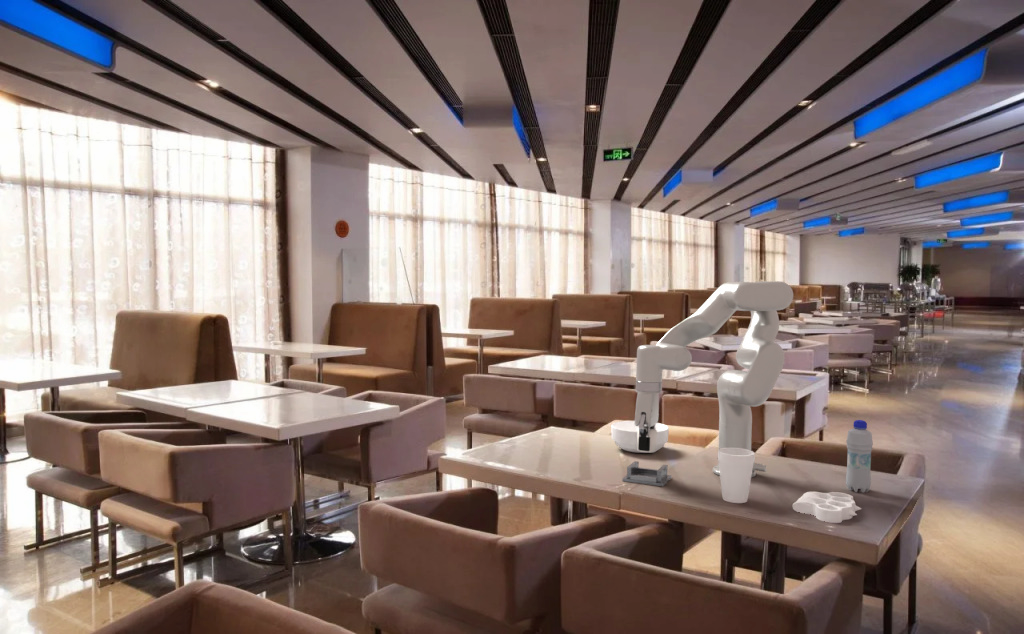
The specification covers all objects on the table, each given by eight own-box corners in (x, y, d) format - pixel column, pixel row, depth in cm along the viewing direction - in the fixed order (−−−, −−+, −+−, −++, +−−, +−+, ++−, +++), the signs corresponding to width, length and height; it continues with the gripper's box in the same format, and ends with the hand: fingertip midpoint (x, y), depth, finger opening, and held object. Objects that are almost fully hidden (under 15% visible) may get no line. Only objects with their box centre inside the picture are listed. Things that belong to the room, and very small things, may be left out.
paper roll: (658, 449, 208) (659, 429, 207) (653, 453, 203) (654, 432, 202) (639, 447, 210) (640, 427, 210) (634, 450, 205) (635, 430, 205)
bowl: (638, 441, 257) (638, 418, 257) (680, 452, 241) (680, 427, 241) (599, 448, 246) (599, 424, 245) (640, 460, 230) (641, 434, 229)
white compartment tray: (806, 498, 191) (865, 509, 182) (788, 516, 176) (852, 528, 168) (807, 486, 191) (866, 496, 182) (789, 502, 176) (852, 514, 168)
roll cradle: (671, 477, 209) (671, 464, 208) (663, 486, 200) (663, 472, 199) (632, 472, 214) (632, 459, 214) (622, 481, 205) (622, 467, 205)
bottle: (848, 485, 203) (850, 416, 202) (873, 489, 198) (876, 419, 197) (842, 490, 197) (844, 420, 196) (868, 495, 193) (870, 423, 192)
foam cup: (731, 492, 195) (732, 446, 194) (760, 500, 187) (761, 452, 187) (709, 498, 189) (710, 450, 189) (738, 507, 182) (740, 457, 181)
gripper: (643, 382, 215) (642, 441, 216) (628, 389, 199) (626, 452, 200) (668, 384, 212) (666, 444, 212) (654, 392, 196) (652, 456, 197)
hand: (646, 447), depth 206 cm, fingers closed on paper roll, 5 cm apart
